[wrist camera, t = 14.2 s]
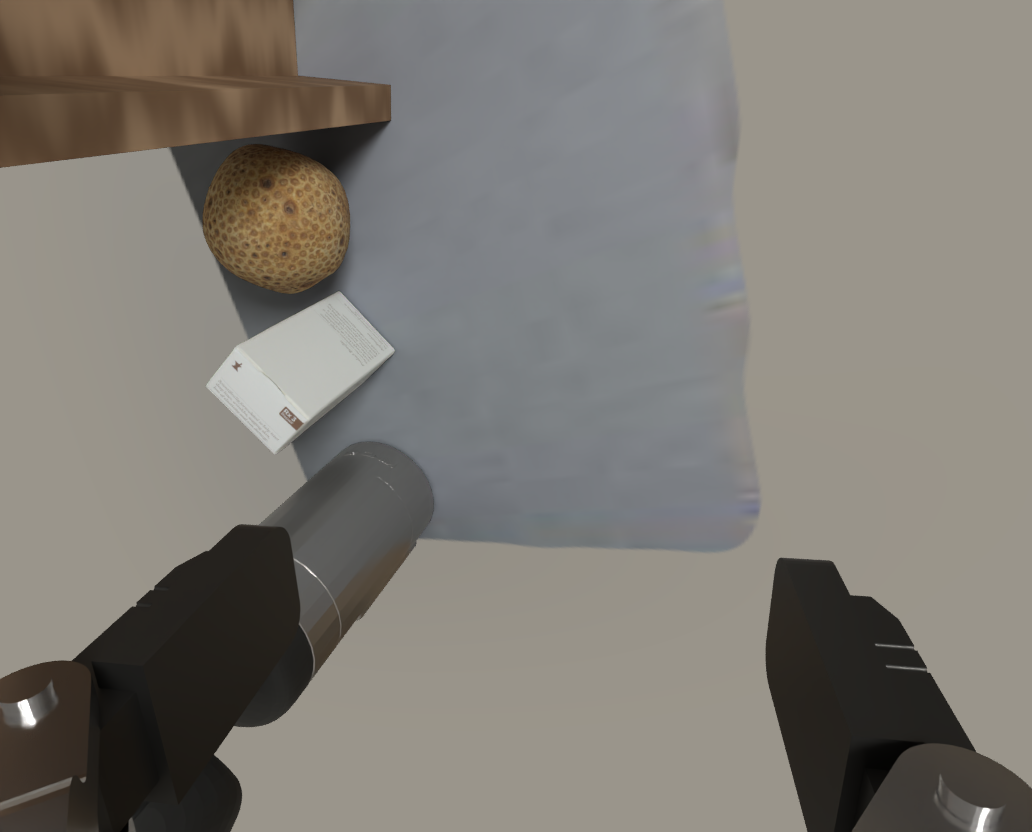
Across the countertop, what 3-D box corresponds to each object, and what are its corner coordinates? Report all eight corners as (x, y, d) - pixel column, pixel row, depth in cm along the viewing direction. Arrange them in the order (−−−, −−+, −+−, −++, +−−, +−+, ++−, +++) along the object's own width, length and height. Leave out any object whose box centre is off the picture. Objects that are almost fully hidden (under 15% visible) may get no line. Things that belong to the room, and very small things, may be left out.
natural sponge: (371, 292, 49) (288, 338, 40) (262, 246, 50) (159, 281, 42) (396, 164, 44) (308, 185, 36) (276, 117, 46) (163, 126, 37)
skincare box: (309, 324, 52) (196, 386, 41) (342, 286, 49) (230, 342, 39) (367, 384, 52) (269, 461, 42) (402, 349, 50) (308, 421, 40)
